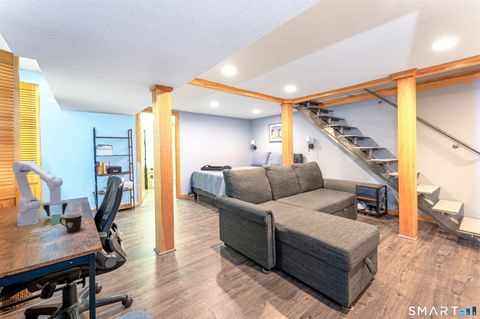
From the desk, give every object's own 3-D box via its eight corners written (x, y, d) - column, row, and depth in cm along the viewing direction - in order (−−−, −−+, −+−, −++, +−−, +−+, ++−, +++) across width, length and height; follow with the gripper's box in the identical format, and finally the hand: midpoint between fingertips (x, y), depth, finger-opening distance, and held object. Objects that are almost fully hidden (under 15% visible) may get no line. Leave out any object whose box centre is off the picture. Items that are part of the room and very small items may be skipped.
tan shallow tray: (41, 228, 134) (41, 223, 134) (46, 223, 144) (46, 218, 144) (66, 224, 141) (66, 219, 141) (69, 220, 150) (69, 215, 150)
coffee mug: (85, 229, 132) (85, 214, 132) (71, 234, 124) (70, 218, 124) (73, 227, 136) (73, 212, 135) (58, 232, 128) (58, 216, 127)
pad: (29, 234, 125) (29, 233, 125) (34, 229, 132) (34, 228, 132) (49, 231, 129) (49, 230, 129) (53, 226, 137) (53, 226, 137)
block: (51, 225, 139) (51, 216, 139) (53, 223, 143) (53, 214, 142) (59, 224, 141) (59, 215, 141) (60, 222, 145) (60, 213, 144)
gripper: (39, 198, 134) (40, 218, 134) (67, 195, 141) (68, 215, 142) (42, 196, 140) (43, 215, 141) (69, 193, 147) (70, 212, 148)
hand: (56, 215), depth 142 cm, fingers open, 7 cm apart
